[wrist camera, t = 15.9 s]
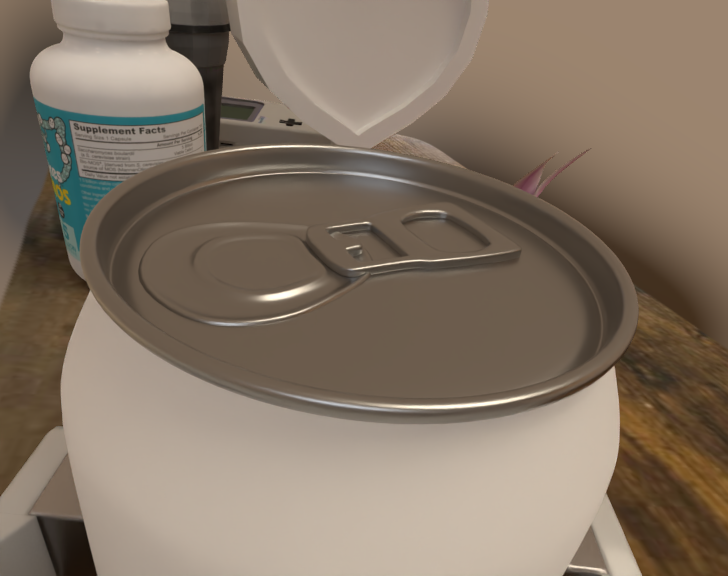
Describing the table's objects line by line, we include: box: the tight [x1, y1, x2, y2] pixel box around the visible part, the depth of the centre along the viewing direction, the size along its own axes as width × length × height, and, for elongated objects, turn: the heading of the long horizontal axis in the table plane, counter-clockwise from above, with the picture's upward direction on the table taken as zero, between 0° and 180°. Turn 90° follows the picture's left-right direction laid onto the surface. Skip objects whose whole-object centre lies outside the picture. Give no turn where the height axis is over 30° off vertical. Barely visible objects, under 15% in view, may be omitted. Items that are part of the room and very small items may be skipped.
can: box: [61, 143, 638, 576], centre depth 9 cm, size 6×6×12 cm
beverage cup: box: [165, 0, 231, 151], centre depth 33 cm, size 7×7×20 cm
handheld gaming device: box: [219, 96, 331, 149], centre depth 48 cm, size 9×15×4 cm, turn 91°
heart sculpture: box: [226, 0, 489, 148], centre depth 33 cm, size 16×5×18 cm, turn 113°
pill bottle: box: [30, 0, 207, 281], centre depth 26 cm, size 8×7×14 cm
